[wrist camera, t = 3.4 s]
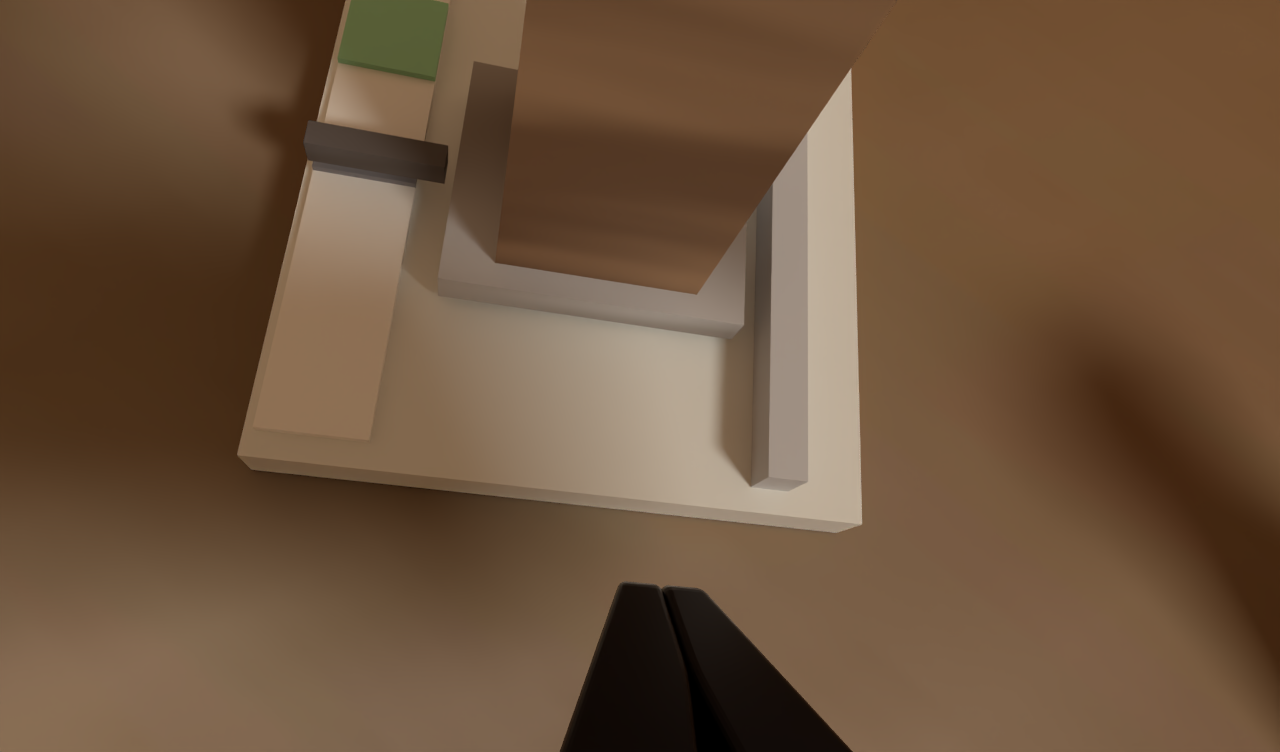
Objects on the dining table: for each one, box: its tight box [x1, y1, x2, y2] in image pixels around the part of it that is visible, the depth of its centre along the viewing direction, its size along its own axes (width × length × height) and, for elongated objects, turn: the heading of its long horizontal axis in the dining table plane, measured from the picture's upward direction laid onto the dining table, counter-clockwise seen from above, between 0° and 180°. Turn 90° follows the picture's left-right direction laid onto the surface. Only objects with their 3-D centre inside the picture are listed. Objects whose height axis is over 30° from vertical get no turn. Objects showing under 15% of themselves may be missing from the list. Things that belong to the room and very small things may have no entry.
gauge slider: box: [303, 0, 897, 339], centre depth 12 cm, size 5×9×11 cm, turn 86°
